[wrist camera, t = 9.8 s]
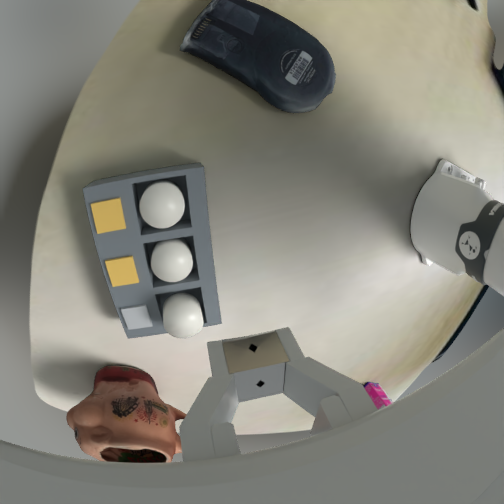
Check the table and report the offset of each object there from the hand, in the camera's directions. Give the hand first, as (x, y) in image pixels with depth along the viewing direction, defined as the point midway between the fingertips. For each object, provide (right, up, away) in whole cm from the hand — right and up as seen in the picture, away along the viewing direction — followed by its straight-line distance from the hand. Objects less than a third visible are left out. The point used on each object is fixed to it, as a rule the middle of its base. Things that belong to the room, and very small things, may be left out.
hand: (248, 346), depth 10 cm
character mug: (-17, -16, +26) cm, 35 cm away
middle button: (-8, +3, +17) cm, 20 cm away
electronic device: (+1, +24, +13) cm, 27 cm away
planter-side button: (-7, -2, +18) cm, 20 cm away
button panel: (-10, +4, +18) cm, 21 cm away
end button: (-8, +8, +15) cm, 19 cm away
